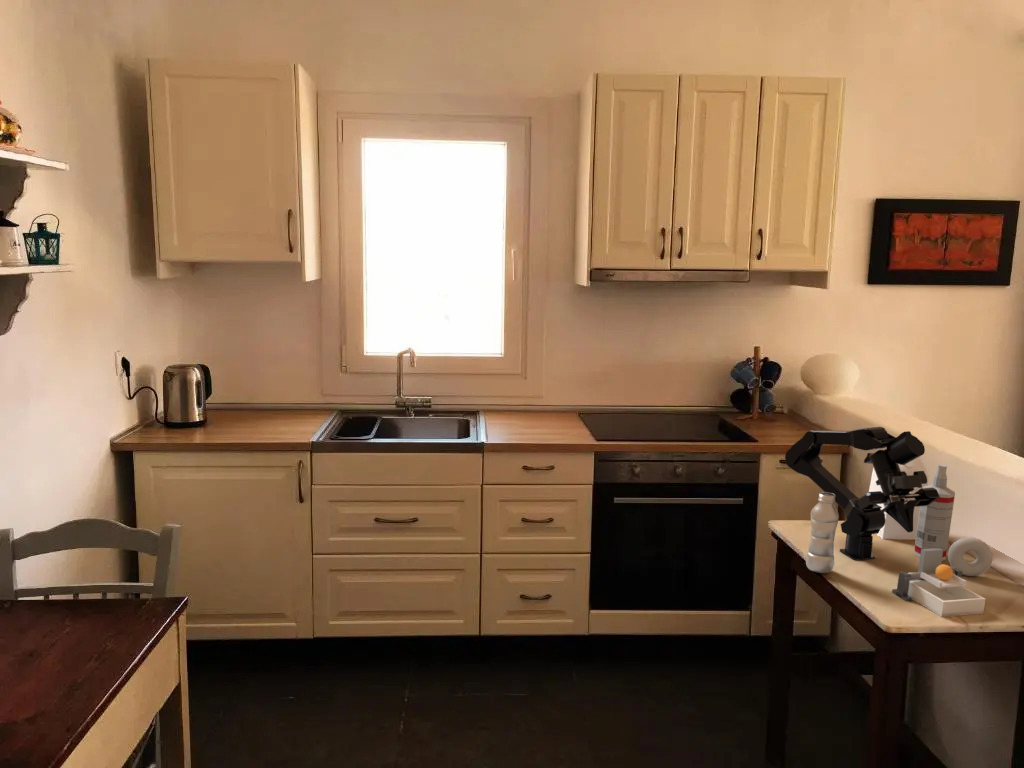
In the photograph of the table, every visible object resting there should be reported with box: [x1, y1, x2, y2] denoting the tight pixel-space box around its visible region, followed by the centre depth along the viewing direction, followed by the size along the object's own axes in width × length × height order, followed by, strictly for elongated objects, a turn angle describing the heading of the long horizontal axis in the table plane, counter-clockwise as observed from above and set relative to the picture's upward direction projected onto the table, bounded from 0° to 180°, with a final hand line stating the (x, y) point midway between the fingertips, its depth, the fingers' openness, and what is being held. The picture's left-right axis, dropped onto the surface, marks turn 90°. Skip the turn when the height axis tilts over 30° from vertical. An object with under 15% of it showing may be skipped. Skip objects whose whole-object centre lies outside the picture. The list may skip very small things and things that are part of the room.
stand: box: [891, 567, 963, 602], centre depth 190 cm, size 5×16×6 cm, turn 104°
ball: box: [935, 563, 953, 580], centre depth 185 cm, size 4×4×4 cm
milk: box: [868, 456, 929, 541], centre depth 230 cm, size 12×12×26 cm
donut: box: [947, 536, 994, 577], centre depth 202 cm, size 10×4×10 cm, turn 74°
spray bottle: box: [913, 464, 956, 562], centre depth 213 cm, size 8×8×25 cm
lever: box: [907, 548, 968, 588], centre depth 189 cm, size 14×12×10 cm
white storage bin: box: [908, 580, 986, 618], centre depth 185 cm, size 11×11×4 cm
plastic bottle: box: [805, 491, 840, 574], centre depth 200 cm, size 6×7×20 cm
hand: (910, 531), depth 195 cm, fingers closed
